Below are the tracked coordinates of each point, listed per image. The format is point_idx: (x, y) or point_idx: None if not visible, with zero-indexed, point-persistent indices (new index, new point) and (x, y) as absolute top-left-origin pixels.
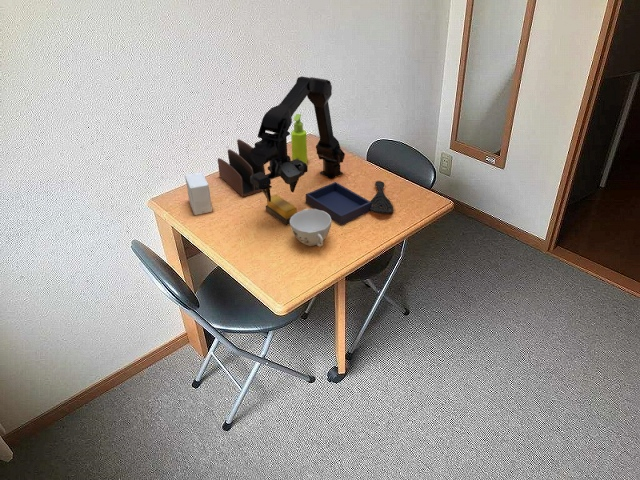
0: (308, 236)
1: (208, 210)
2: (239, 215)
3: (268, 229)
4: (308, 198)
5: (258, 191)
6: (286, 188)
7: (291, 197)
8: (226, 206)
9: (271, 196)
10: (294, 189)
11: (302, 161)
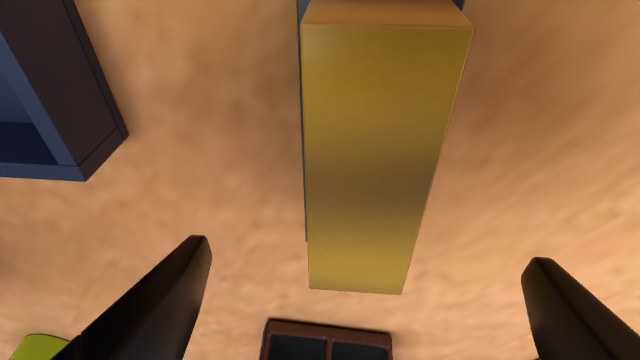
0: None
1: None
2: None
3: (604, 33)
4: (85, 136)
5: (311, 328)
6: None
7: (192, 225)
8: (496, 331)
9: (357, 291)
10: (164, 260)
11: (34, 357)
